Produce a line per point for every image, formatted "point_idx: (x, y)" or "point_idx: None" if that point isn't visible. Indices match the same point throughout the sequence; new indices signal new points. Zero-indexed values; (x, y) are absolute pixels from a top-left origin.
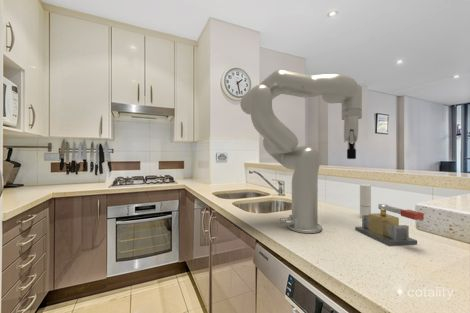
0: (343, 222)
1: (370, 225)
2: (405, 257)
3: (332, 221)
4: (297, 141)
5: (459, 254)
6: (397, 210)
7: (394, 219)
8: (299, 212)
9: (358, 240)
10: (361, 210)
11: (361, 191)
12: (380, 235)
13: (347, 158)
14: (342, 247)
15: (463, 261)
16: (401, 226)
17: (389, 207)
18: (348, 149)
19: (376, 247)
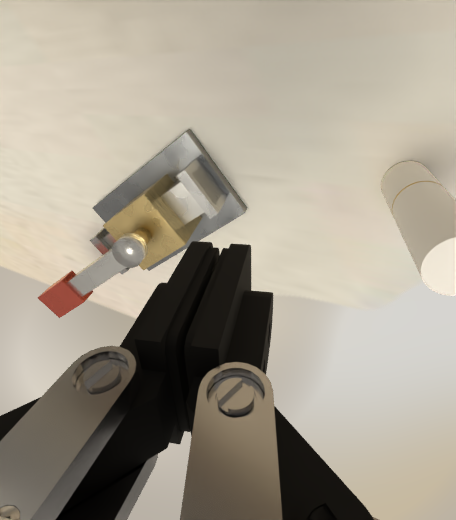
0: (282, 82)
1: (155, 183)
2: (51, 220)
3: (278, 26)
4: None
5: (138, 313)
6: (77, 274)
7: None
8: None
9: (89, 133)
10: (401, 178)
11: (428, 221)
12: (134, 198)
13: (195, 243)
14: (3, 87)
15: (103, 304)
16: None
17: (96, 263)
18: (138, 355)
19: (68, 174)
